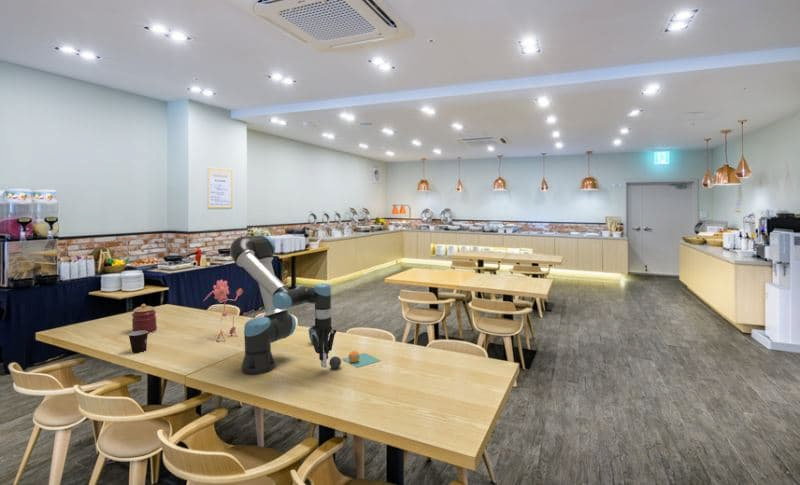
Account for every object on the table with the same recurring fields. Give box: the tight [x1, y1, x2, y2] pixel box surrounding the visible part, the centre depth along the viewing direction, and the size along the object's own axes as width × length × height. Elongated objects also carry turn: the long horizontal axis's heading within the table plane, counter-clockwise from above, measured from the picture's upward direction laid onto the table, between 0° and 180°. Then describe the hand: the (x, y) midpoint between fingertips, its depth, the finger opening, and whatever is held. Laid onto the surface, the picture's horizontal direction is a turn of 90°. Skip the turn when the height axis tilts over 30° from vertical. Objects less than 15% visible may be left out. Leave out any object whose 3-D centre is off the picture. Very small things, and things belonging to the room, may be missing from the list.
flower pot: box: [308, 324, 324, 345], centre depth 228 cm, size 9×9×9 cm
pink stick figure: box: [203, 279, 244, 342], centre depth 236 cm, size 15×26×35 cm, turn 159°
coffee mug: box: [128, 331, 149, 354], centre depth 215 cm, size 12×9×10 cm
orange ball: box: [347, 350, 360, 363], centre depth 198 cm, size 6×6×6 cm
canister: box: [131, 303, 158, 334], centre depth 249 cm, size 13×13×18 cm
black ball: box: [329, 355, 342, 369], centre depth 191 cm, size 6×6×6 cm
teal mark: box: [341, 352, 381, 369], centre depth 201 cm, size 14×14×1 cm
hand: (323, 366), depth 188 cm, fingers closed
